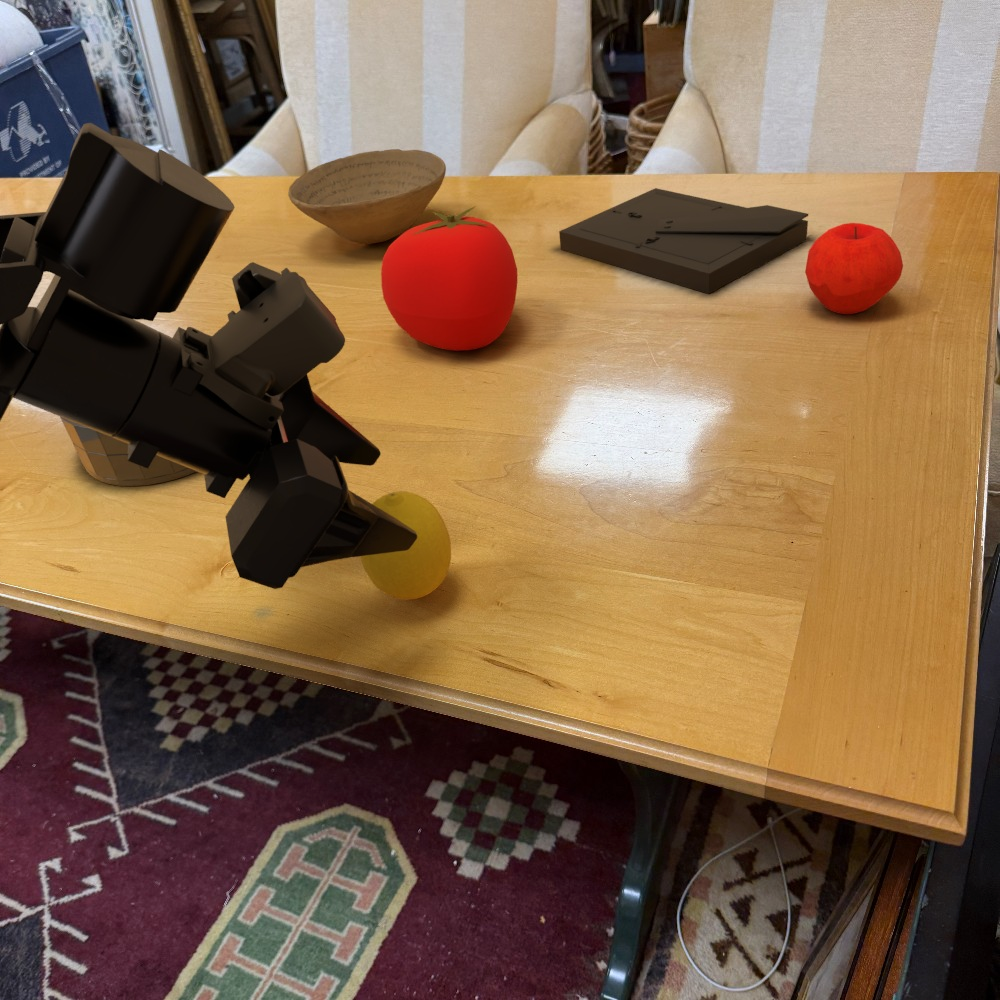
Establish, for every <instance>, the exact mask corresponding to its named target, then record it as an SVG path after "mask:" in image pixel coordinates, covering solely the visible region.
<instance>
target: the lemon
mask: <svg viewBox="0 0 1000 1000" xmlns="http://www.w3.org/2000/svg"><path fill="white" fill-rule="evenodd" d="M372 504H373V505H374V506H376V507H378V508H379V509H381V510H383V511H384V512H386V513H388V514H389V515H391V516H393V517H394V518H396V519H398V520H399V521H401V522H402V523H404V524H405V525H407V526H408V527H410V528H411V529H413V530H414V531H415V532H416V534H417V539H416V541H415V542H414V543H413V545H412V546H411V548H410V549H408V550H406V551H399V552H391V553H383V554H375V555H367V556H360V560H361V564H362V567H363V570H364V571H365V573H366V574H367V576H368V578H369V580H370V581H371V582H372V584H373V585H374V586H375V587H376V588H377V589H379V591H380V592H382V593H384V594H385V595H387V596H390V597H392V598H395V599H399V600H405V601H406V600H415V599H421V598H423V597H426V596H427V595H429V594H431V593H432V592H433V591H435V590H436V589H437V588H438V587H439V586H440V585H441V584H442V583H443V581H444V580H445V578H446V576H447V574H448V572H449V568H450V565H451V561H452V544H451V538H450V534H449V531H448V528H447V525H446V523H445V521H444V519H443V517H442V515H441V513H440V512H439V510H438V508H436V506H435V505H434V504H433V503H432V502H431V501H429V500H428V499H427V498H426V497H424V496H421V495H420V494H418V493H414V492H410V491H393V492H389V493H387V494H384V495H382V496H380V497H379V498H377V499H376V500H375V501H373V503H372Z"/></svg>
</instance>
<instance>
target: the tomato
mask: <svg viewBox="0 0 1000 1000" xmlns="http://www.w3.org/2000/svg"><path fill="white" fill-rule="evenodd" d="M476 207H477V206H476V205H474V206H473V207H471V208H469V209H466V210H464V211H462V212H460V213H458V214H456V215H454V214H453V213H450V214H448V215H446V214H443V213H439V212H435V211H432V214H434V215H435V216H437V217H439V218H440V219H438V220H434V221H429V222H425V223H422V224H418V225H416V226H413V227H411V228H408V229H407V230H406V231H404V232H403V233H401V234H400V235H398V237H397V238H395V240H394V241H393V242H392V243H390V245H389V246H388V247H387V250H386V251H385V253H384V255H383V258H382V263H381V268H380V269H381V270H380V277H381V278H380V279H381V283H380V284H381V292H382V296H383V297H382V298H383V300H384V303H385V305H386V307H387V310H388V312H389V313H390V315H391V317H392V318H393V319H394V321H395V323H396V324H397V326H398V327H399V328H401V329H402V331H403V332H405V333H406V334H407V335H408V336H410V338H412V339H413V340H416V341H418V342H420V343H423V344H425V345H428V346H430V347H434V348H437V349H441V350H446V351H456V352H459V351H472V350H478V349H481V348H485V347H487V346H488V345H490V344H491V343H493V342H494V341H496V340H497V339H498V338H499V337H500V336H501V335H502V334H503V332H504V331H505V329H506V327H507V326H508V323H509V322H510V320H511V317H512V315H513V311H514V308H515V304H516V296H517V290H518V267H517V263H516V259H515V256H514V252H513V248H512V247H511V245H510V243H509V241H508V240H507V238H506V237H505V235H504V234H503V232H502V231H500V230H499V228H498V227H497V226H496V225H495V224H493V223H492V222H490V221H488V220H484V219H481V218H478V217H474V216H466V215H467V214H468V213H469V212H471V211H472V210H474V209H475V208H476Z"/></svg>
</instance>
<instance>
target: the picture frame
mask: <svg viewBox="0 0 1000 1000" xmlns="http://www.w3.org/2000/svg"><path fill="white" fill-rule="evenodd" d="M807 217H809V213H807V212H802V211H798V210H794V209H793V210H792V209H788V208H784V207H783V208H782V207H778V206H773V205H768V204H765V205H759V206H750V207H746V206H740V205H735V204H732V203H727V202H722V201H717V200H713V199H708V198H704V197H699V196H694V195H689V194H684V193H680V192H675V191H672V190H666V189H662V188H657V187H655V188H652V189H651V190H648V191H645V192H644V193H642V194H640V195H637V196H635V197H632V198H631V199H628V200H626V201H624V202H622V203H619V204H617V205H615V206H612V207H610V208H608V209H606V210H604V211H602V212H599V213H597V214H594V215H593V216H590V217H588V218H585V219H583V220H582V221H579V222H577V223H574V224H572V225H570V226H567V227H566V228H564V229H561V230H559V231H558V233H559V234H558V235H559V247H560V250H561V251H565V252H568V253H572V254H575V255H578V256H582V257H585V258H588V259H591V260H594V261H597V262H598V261H599V262H601V263H605V264H608V265H611V266H615V267H618V268H621V269H625V270H627V271H628V270H629V271H631V272H635V273H638V274H642V275H644V276H648V277H651V278H655V279H658V280H661V281H664V282H667V283H668V282H669V283H672V284H673V285H674V284H675V285H678V286H682V287H685V288H688V289H691V290H694V291H697V292H702V293H704V294H708V295H709V294H711V293H713V292H715V291H717V290H719V289H721V288H722V287H724V286H726V285H728V284H730V283H731V282H733V281H735V280H737V279H738V278H740V277H742V276H744V275H746V274H749V273H750V272H751V271H753V270H755V269H757V268H759V267H761V266H763V265H764V264H766V263H768V262H769V261H770V262H771V260H774V259H775V258H777V257H779V256H781V255H782V254H784V253H786V252H788V251H790V250H792V249H793V248H795V247H797V246H799V245H801V244H803V243H804V242H806V241H807V237H808V226H809V221H808V220H806V219H805V218H807Z"/></svg>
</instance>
